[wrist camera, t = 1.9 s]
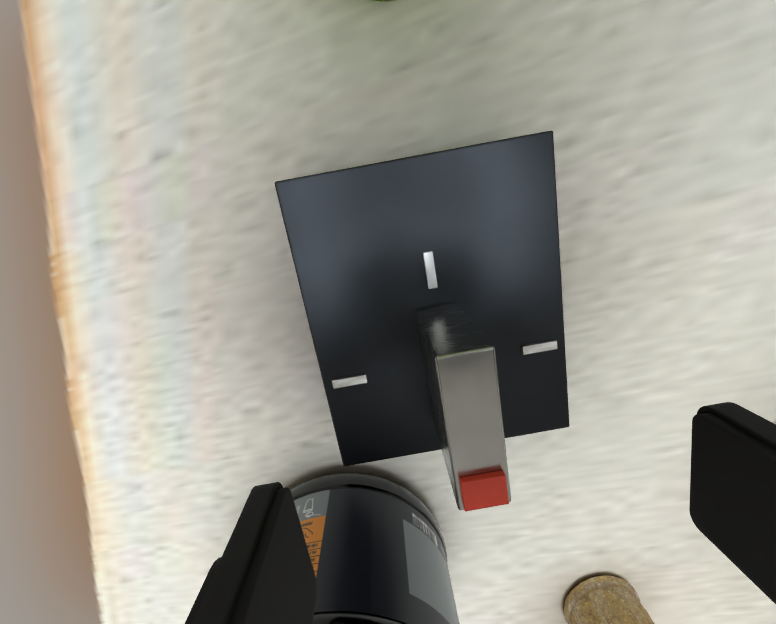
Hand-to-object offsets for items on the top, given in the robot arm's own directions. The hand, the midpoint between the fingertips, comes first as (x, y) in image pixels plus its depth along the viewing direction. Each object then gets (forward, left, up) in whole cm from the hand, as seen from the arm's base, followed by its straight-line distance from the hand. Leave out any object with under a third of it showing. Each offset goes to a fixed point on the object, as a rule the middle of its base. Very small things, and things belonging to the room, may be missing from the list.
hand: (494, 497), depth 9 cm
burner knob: (0, 0, -7) cm, 7 cm away
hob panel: (-2, 0, -10) cm, 10 cm away
